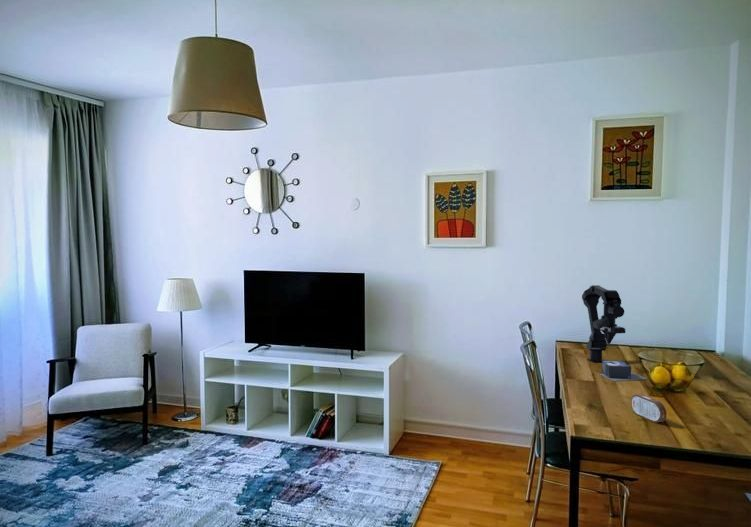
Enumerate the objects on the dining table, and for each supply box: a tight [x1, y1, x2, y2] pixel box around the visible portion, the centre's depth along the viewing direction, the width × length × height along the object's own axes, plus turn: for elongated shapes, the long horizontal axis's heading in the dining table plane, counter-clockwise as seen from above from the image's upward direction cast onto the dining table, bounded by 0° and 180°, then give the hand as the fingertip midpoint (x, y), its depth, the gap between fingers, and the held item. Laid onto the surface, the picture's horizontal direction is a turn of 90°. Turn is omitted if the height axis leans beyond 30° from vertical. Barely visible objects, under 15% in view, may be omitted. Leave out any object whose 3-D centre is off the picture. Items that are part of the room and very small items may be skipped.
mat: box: [599, 371, 648, 382], centre depth 251 cm, size 12×18×1 cm, turn 101°
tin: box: [630, 393, 667, 423], centre depth 194 cm, size 15×3×8 cm, turn 17°
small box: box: [601, 360, 632, 379], centre depth 252 cm, size 11×6×10 cm
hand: (608, 343), depth 266 cm, fingers closed
